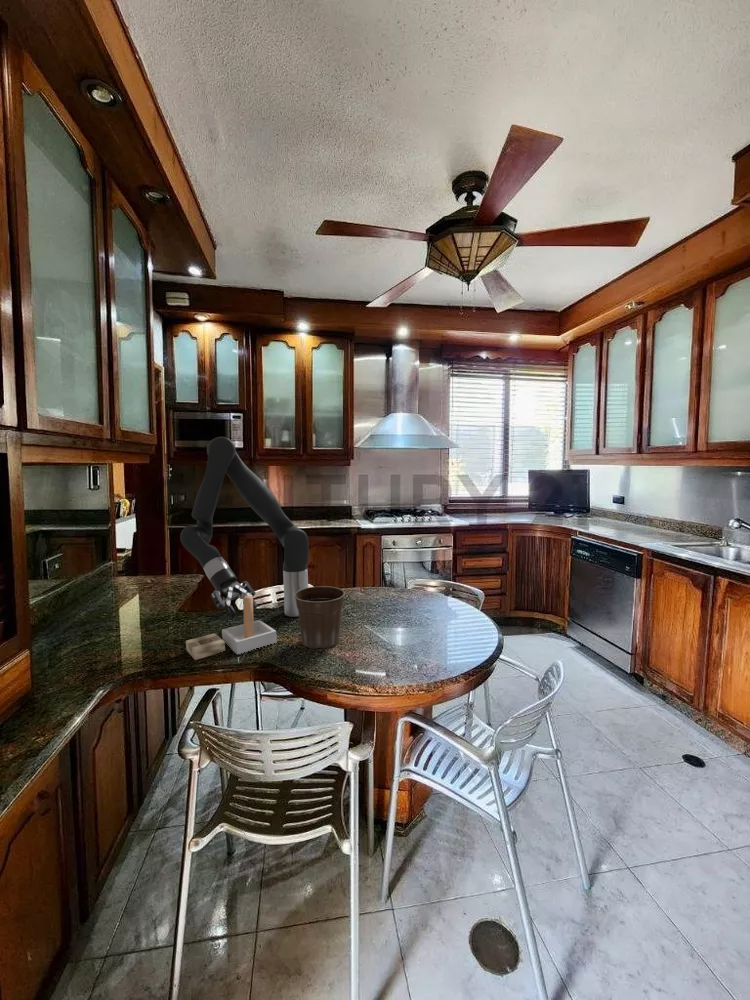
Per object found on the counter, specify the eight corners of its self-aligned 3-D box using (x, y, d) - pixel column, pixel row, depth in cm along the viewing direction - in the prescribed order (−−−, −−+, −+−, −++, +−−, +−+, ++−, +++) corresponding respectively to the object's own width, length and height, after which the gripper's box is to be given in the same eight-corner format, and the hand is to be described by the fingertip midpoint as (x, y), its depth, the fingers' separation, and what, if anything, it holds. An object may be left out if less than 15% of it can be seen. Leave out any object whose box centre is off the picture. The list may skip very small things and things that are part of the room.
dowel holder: (215, 642, 141) (214, 633, 141) (225, 651, 134) (224, 641, 134) (186, 650, 135) (185, 640, 135) (195, 660, 128) (194, 650, 128)
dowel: (251, 636, 142) (250, 595, 141) (255, 639, 140) (254, 597, 139) (242, 638, 141) (241, 597, 139) (246, 641, 138) (245, 599, 137)
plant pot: (355, 637, 143) (354, 590, 141) (326, 657, 129) (324, 604, 128) (316, 628, 151) (315, 583, 150) (285, 645, 137) (283, 596, 136)
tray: (259, 631, 150) (259, 619, 149) (276, 643, 139) (276, 631, 139) (222, 641, 141) (221, 629, 141) (237, 654, 131) (237, 642, 131)
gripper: (206, 571, 137) (233, 613, 132) (241, 562, 149) (267, 599, 145) (197, 585, 140) (222, 626, 136) (231, 575, 153) (256, 612, 148)
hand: (245, 612), depth 140 cm, fingers open, 8 cm apart
